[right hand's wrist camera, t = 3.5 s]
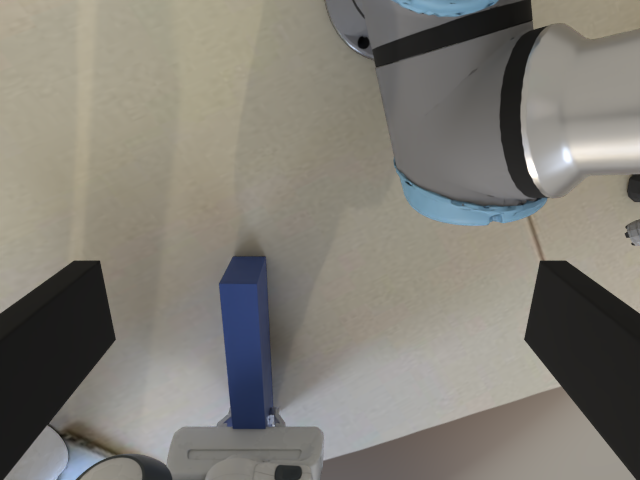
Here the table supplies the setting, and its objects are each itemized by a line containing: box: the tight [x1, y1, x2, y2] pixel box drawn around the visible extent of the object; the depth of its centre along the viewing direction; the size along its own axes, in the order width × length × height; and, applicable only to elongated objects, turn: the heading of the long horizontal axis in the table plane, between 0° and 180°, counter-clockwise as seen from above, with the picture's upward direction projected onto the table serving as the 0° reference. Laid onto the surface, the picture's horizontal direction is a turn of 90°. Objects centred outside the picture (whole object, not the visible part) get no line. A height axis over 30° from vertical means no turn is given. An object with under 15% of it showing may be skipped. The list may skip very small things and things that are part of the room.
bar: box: [219, 257, 273, 429], centre depth 57 cm, size 27×4×8 cm, turn 0°
